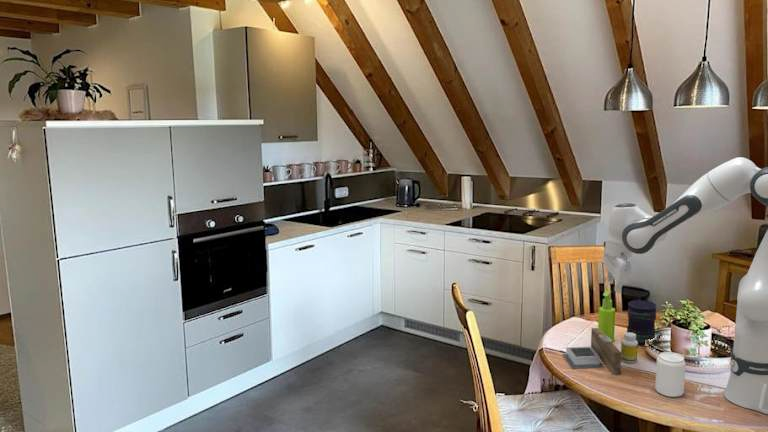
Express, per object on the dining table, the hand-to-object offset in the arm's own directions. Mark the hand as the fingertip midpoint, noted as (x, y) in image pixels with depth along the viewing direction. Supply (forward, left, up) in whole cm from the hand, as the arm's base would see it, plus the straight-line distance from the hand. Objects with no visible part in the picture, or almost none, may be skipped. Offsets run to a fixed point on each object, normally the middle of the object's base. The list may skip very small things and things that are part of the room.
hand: (613, 286), depth 206 cm
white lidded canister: (-9, +26, -27) cm, 39 cm away
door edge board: (+3, +2, -27) cm, 27 cm away
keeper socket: (+11, +2, -27) cm, 29 cm away
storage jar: (-17, -14, -27) cm, 35 cm away
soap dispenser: (-4, -15, -27) cm, 31 cm away
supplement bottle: (-6, +2, -27) cm, 28 cm away
